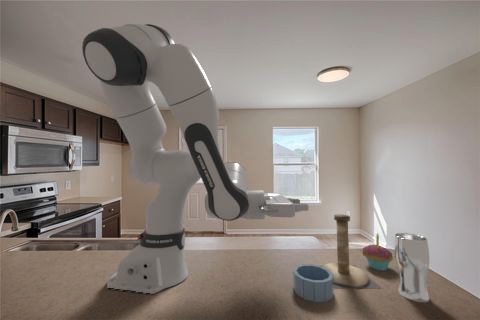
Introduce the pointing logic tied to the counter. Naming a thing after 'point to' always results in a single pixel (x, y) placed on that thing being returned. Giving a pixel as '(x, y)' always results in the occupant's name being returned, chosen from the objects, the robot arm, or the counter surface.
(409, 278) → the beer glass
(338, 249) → the brown piece
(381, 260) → the cupcake
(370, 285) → the mat
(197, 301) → the counter surface
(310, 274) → the bowl
